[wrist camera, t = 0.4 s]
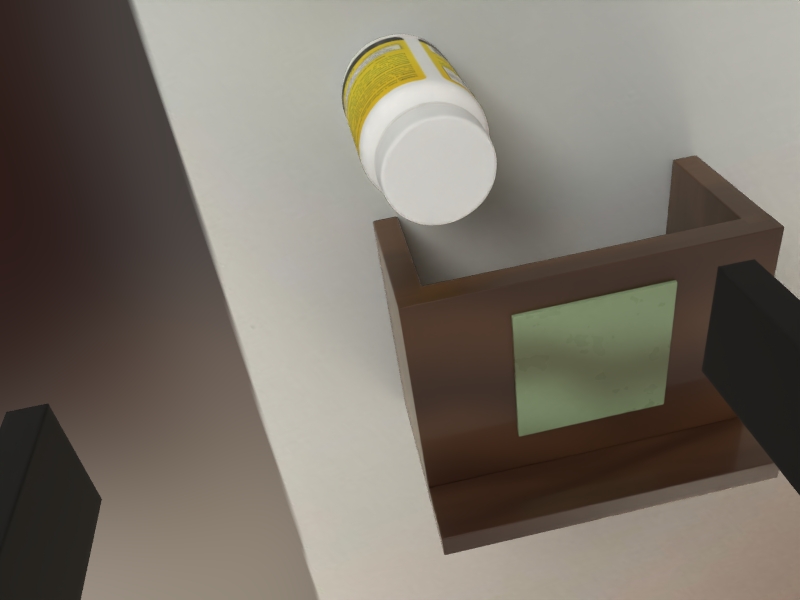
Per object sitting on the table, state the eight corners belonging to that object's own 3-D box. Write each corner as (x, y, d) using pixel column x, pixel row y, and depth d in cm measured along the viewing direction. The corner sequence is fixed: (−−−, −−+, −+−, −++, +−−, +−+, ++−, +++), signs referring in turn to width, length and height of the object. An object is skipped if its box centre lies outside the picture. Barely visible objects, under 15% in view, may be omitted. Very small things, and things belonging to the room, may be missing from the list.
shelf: (372, 220, 34) (412, 356, 26) (696, 154, 35) (833, 266, 27) (405, 403, 41) (444, 555, 33) (674, 343, 42) (777, 478, 34)
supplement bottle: (332, 134, 32) (355, 228, 25) (350, 22, 29) (382, 93, 22) (437, 148, 33) (487, 242, 26) (464, 42, 30) (527, 115, 23)
